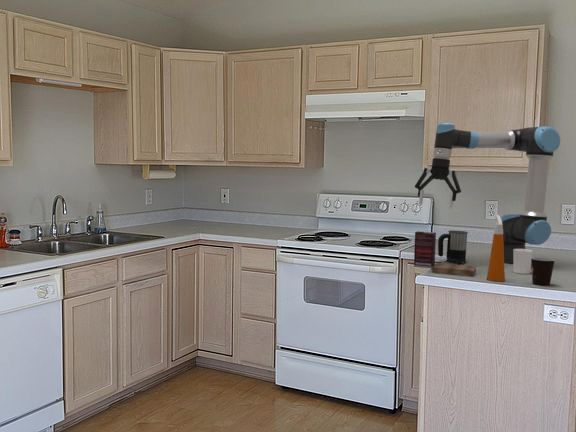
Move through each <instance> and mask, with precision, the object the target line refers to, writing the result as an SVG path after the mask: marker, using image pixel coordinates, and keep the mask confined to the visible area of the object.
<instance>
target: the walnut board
mask: <svg viewBox="0 0 576 432" xmlns="http://www.w3.org/2000/svg"><path fill="white" fill-rule="evenodd" d="M431 269H432V271H431V273H432V272H435V273H434V274H439V273H442V275H450V276H461V277H471V278H472V277H473V278H474V277H475V275H476V272H477V266H475V265H466V264H464V265H463V264H460V265H458V264H455V263H443V262H441V263H440V262H439V263H438V262H435V265H434V266H433V267H432V268H431Z"/></svg>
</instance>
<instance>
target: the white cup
mask: <svg viewBox="0 0 576 432" xmlns="http://www.w3.org/2000/svg"><path fill="white" fill-rule="evenodd" d="M533 253H534V252H533V250H532V249H527V248H526V249H513V263H512V264H513V273H516V274H521V275H529V274H531V270H532V265H531V258H533Z"/></svg>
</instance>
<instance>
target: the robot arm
mask: <svg viewBox="0 0 576 432" xmlns="http://www.w3.org/2000/svg"><path fill="white" fill-rule="evenodd" d="M455 127H456V125H455V124H454V123H450V122H439V123H438V124H437V125H436V130H435V139H434V147H433V153H432V154H433V155H432V156H433V158H432V162H431V168H426V167H424V169H423V172H422V174H421V176H420V177H419V178H418V180H417V182H416V183H415V185H414V189H415V188H416V190H418V191H417V192H418V193H417V198H418V197H419V200H418V205H420V206H422V205H423V202H424V195H425V190H424V188H425V187H427V186H428V185H429V184H430V183H431V182H432V181H433V180H440V181H443V180H444V181H445V183H446V185H447V186H448V188H449V190H450V191H451V193H450V198H449V205H448V209H451V210H453V206H454V202H456V199H457V194H459V193H462V190H461V187H460V183H459V180H458V177H457V171H456V170H450V166H451V165H450V163H451V160H450V159H451V158H452V150H453V149H467V150H473V149H504V150H506V151H515V152H524V153H525V156H526V158H527V159H528V166H527V176H526V186H525V187H526V189H525V196H524V206H523V207H524V208H523V211H522V212H520V213H517V214H503V215H502V217H501V220H502V225H503V244H504V264H513V249H527V248H526V244H529V245H533V246H534V245H537V246H539V245H543V244H545V243H546V241H548V239H550V237H551V234H552V227H551V225H550V223H549V222H548V221H547V219H548V216H547V214H546V213H545V204H546V194H547V185H548V175H549V165H550V160H551V159H552V158H554V152H555V151H557V150H558V148H559V147H560V144H561V137H560V134H559V133H558V131H557V130H556V128H554V127H552V126H545V125H544V126H542V125H541V126H531V127H523V128H518V129H517V128H516V129H507V130H506V131H471V130H470V131H468V130H461V129H456V128H455ZM429 173H430V175H429V177H428V178H427V179H425V178H426V177H427V175H428V174H429ZM449 175H450V176H451V178H452V180H453V183H452V182H451V180H450V179H449V177H448V176H449ZM424 180H425V181H424ZM454 186H455V187H454Z"/></svg>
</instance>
